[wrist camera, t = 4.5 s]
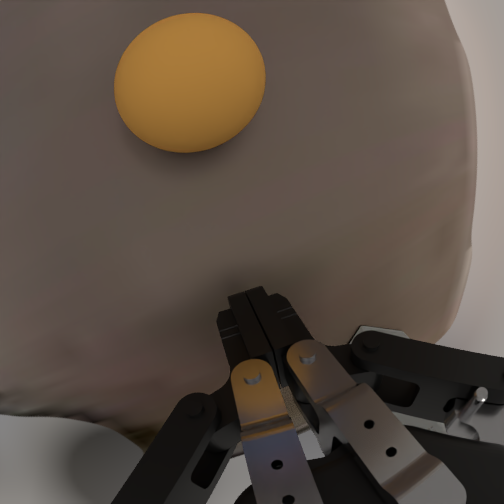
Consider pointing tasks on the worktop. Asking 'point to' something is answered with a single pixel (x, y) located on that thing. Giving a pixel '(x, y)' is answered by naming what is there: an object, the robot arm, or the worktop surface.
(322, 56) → the worktop surface
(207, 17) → the ball
